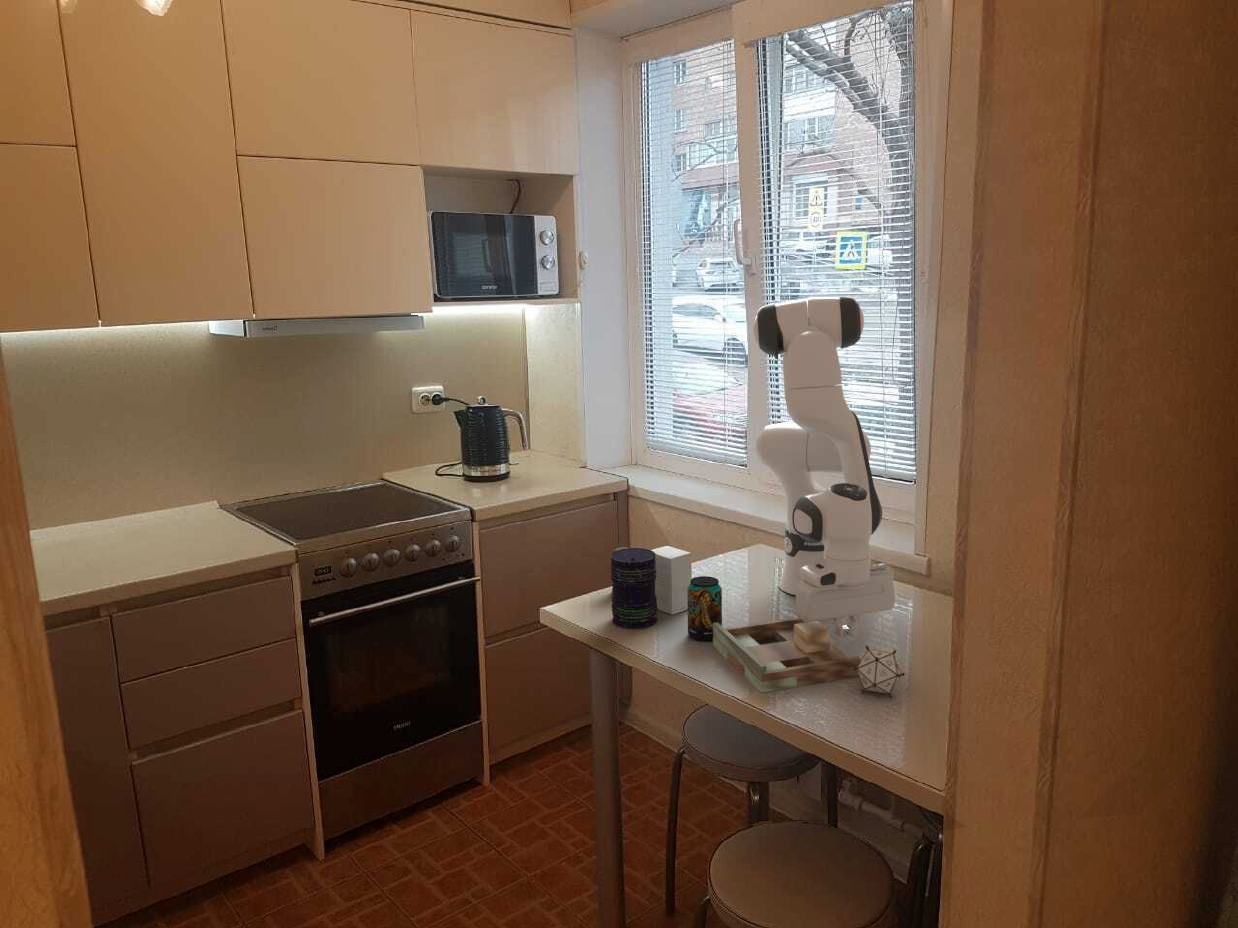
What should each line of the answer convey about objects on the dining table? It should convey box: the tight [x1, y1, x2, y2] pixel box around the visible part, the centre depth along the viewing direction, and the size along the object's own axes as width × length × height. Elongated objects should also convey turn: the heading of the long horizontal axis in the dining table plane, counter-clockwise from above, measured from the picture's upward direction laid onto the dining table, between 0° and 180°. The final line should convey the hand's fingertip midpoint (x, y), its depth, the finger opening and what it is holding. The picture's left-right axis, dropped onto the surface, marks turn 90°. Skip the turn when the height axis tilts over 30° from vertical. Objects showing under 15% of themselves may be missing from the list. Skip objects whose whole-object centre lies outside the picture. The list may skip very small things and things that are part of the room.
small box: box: [650, 545, 693, 616], centre depth 205 cm, size 8×6×13 cm
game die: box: [852, 644, 906, 699], centre depth 162 cm, size 9×8×10 cm
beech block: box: [794, 620, 831, 653], centre depth 178 cm, size 5×5×4 cm
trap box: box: [712, 616, 862, 694], centre depth 177 cm, size 20×22×5 cm
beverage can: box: [687, 575, 723, 642], centre depth 189 cm, size 7×7×12 cm
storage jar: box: [610, 547, 658, 630], centre depth 197 cm, size 10×10×15 cm
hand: (844, 635), depth 180 cm, fingers closed
